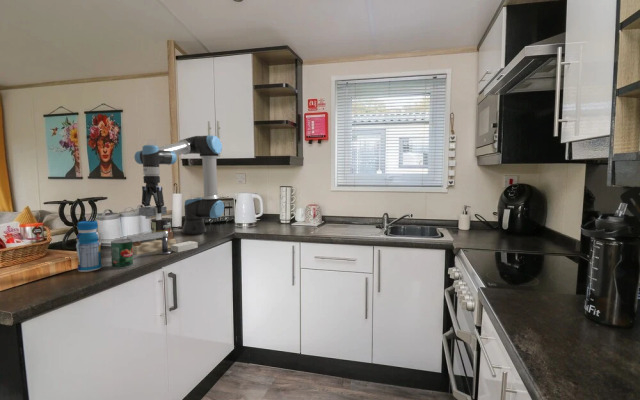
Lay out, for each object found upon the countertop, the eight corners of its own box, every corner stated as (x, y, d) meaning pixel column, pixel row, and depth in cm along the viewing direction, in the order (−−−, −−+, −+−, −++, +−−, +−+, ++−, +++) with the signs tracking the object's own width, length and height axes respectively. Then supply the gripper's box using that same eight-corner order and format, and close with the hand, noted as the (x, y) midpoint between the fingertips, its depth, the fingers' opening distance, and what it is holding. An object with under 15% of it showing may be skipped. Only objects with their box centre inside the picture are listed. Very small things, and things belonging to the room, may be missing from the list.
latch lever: (166, 235, 164) (165, 230, 163) (169, 236, 162) (169, 231, 161) (126, 241, 149) (126, 236, 149) (129, 242, 147) (129, 237, 147)
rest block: (190, 246, 178) (190, 241, 178) (197, 247, 175) (197, 242, 175) (170, 250, 168) (170, 245, 167) (178, 252, 165) (178, 246, 164)
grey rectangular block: (157, 213, 175) (157, 205, 174) (166, 214, 171) (166, 206, 170) (139, 215, 166) (138, 207, 166) (148, 216, 162) (148, 208, 162)
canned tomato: (130, 267, 138) (129, 242, 137) (109, 269, 135) (108, 243, 134) (135, 262, 145) (134, 238, 144) (115, 264, 143) (114, 239, 142)
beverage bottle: (87, 273, 129) (85, 223, 128) (72, 271, 132) (69, 222, 130) (107, 267, 137) (104, 220, 136) (91, 265, 140) (89, 220, 138)
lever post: (166, 251, 166) (166, 235, 165) (174, 252, 163) (173, 236, 163) (155, 253, 161) (155, 237, 160) (163, 255, 158) (162, 238, 157)
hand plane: (169, 245, 181) (168, 231, 180) (176, 246, 178) (175, 232, 177) (129, 253, 162) (129, 237, 161) (136, 254, 159) (136, 238, 158)
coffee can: (175, 241, 190) (175, 218, 188) (163, 245, 179) (163, 220, 178) (160, 241, 192) (159, 217, 190) (147, 244, 182) (146, 219, 180)
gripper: (132, 175, 168) (134, 218, 170) (157, 175, 158) (159, 221, 160) (146, 175, 175) (148, 216, 177) (171, 175, 165) (172, 219, 167)
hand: (153, 219), depth 169 cm, fingers closed on grey rectangular block, 8 cm apart
